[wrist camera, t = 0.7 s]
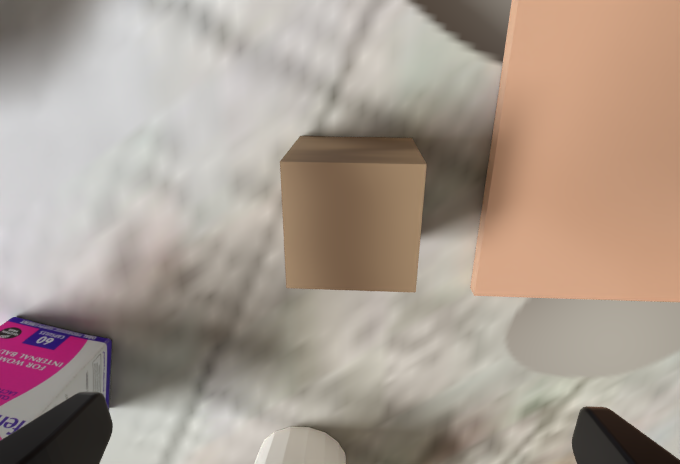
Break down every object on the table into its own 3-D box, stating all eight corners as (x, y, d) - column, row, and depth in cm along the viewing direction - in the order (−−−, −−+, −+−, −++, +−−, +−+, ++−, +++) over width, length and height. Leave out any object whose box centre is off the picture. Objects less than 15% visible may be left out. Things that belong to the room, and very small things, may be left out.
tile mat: (907, -34, 15) (934, -39, 15) (757, 296, 21) (771, 305, 20) (516, -33, 16) (524, -38, 15) (470, 287, 21) (474, 295, 21)
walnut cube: (411, 137, 19) (426, 164, 14) (404, 239, 21) (415, 292, 16) (300, 135, 19) (280, 161, 14) (303, 236, 21) (286, 288, 16)
